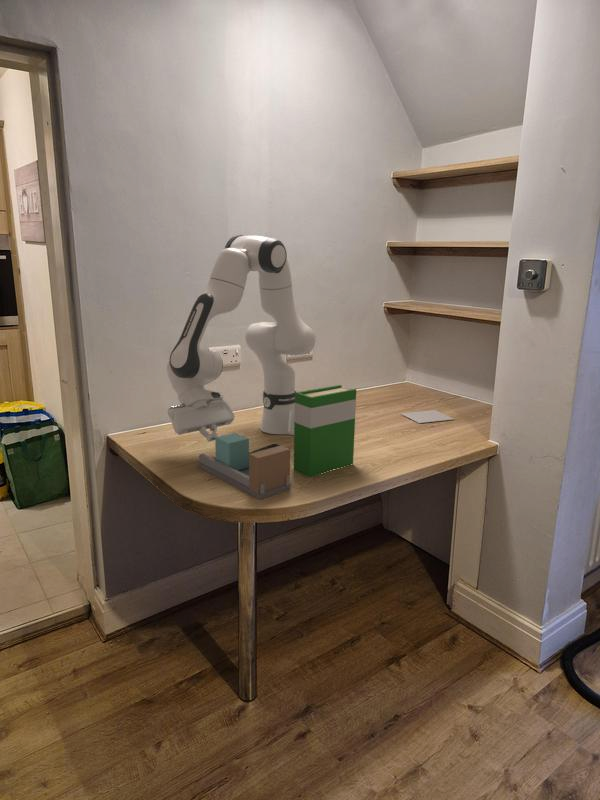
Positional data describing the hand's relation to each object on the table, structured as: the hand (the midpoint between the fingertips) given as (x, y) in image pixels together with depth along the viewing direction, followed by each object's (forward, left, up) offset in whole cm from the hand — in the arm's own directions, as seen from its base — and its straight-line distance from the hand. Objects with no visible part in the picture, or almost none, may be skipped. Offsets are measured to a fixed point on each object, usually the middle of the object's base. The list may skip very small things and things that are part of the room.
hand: (213, 439), depth 174 cm
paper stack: (-89, +13, -8) cm, 91 cm away
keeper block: (0, +9, -6) cm, 11 cm away
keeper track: (0, +14, -8) cm, 16 cm away
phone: (-18, +3, -8) cm, 20 cm away
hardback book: (-24, +23, -8) cm, 35 cm away
